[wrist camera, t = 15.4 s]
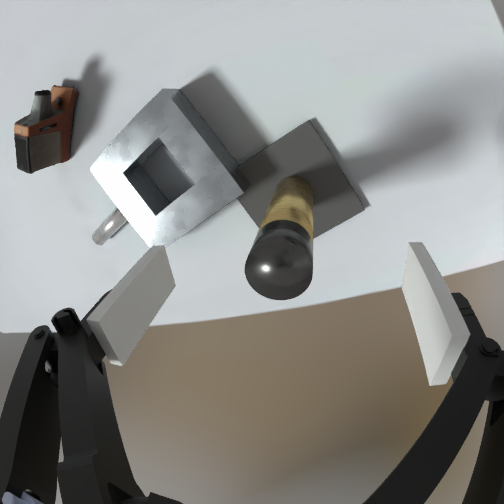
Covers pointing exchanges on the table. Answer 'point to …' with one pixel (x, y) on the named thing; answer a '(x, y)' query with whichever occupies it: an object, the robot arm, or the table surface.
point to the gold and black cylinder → (284, 243)
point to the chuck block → (188, 156)
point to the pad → (307, 167)
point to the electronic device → (46, 130)
